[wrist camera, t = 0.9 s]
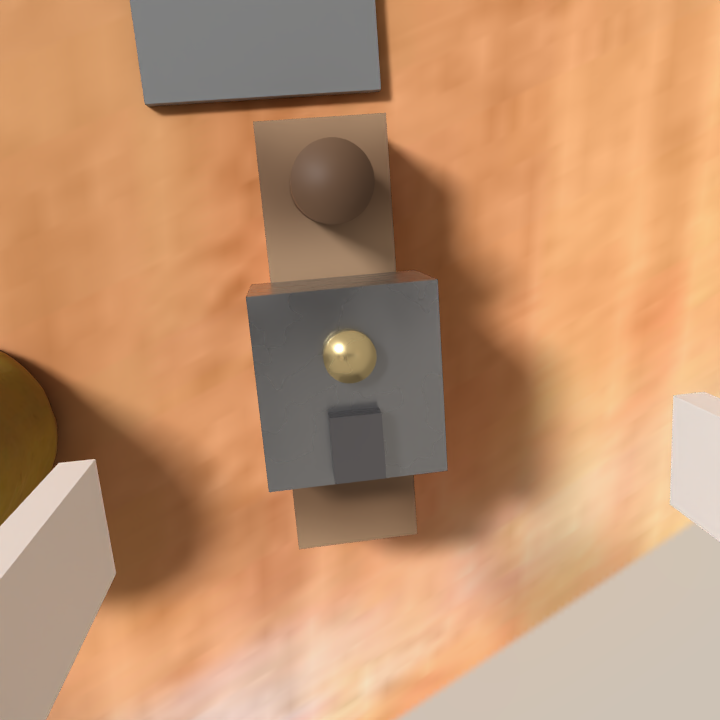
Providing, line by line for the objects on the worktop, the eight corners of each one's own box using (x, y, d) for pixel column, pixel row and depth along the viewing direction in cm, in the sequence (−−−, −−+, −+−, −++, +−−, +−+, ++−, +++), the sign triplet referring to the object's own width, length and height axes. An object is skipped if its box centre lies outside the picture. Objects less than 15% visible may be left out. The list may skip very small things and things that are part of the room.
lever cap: (424, 434, 28) (452, 478, 23) (270, 452, 27) (268, 500, 22) (414, 269, 26) (442, 281, 22) (251, 284, 25) (244, 299, 21)
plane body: (395, 482, 33) (430, 564, 25) (296, 494, 32) (300, 582, 25) (370, 128, 29) (402, 96, 21) (257, 136, 29) (248, 106, 21)
